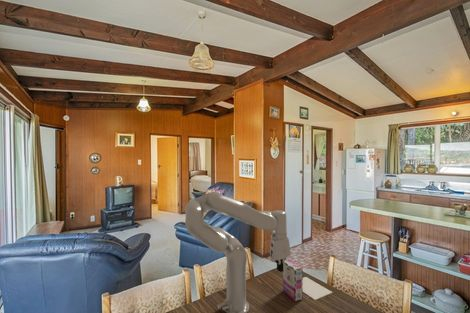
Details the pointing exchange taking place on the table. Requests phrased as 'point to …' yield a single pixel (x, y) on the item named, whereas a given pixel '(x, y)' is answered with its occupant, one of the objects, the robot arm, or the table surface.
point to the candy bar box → (292, 280)
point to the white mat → (313, 289)
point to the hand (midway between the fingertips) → (280, 270)
